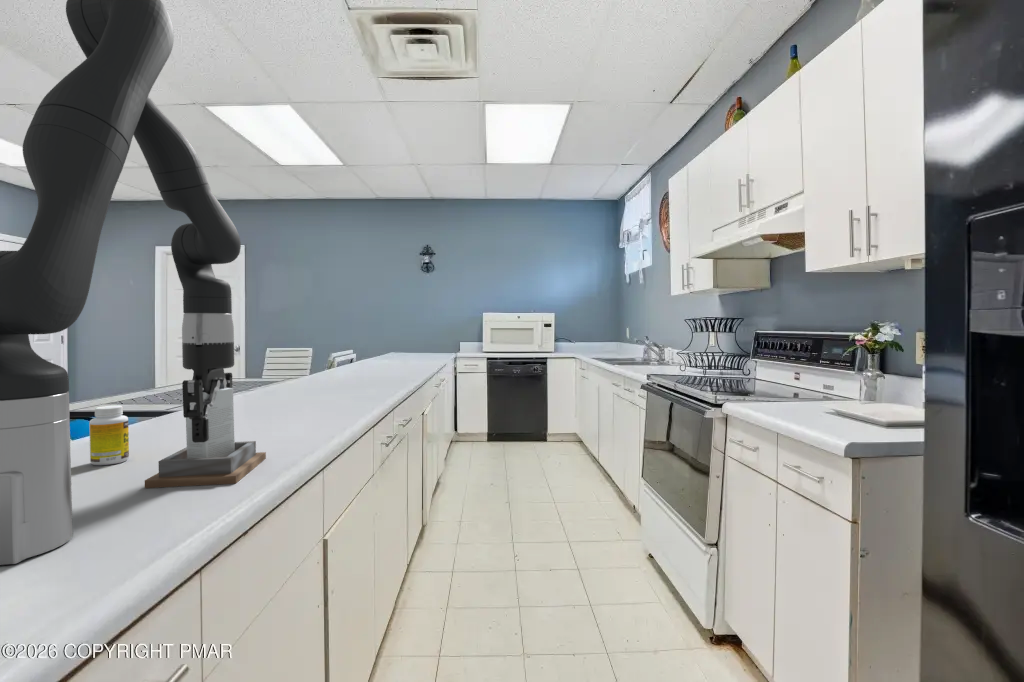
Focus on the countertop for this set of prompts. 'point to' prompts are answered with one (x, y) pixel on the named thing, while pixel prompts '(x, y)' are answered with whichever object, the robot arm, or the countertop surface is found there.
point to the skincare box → (215, 428)
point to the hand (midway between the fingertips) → (210, 436)
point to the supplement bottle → (109, 436)
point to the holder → (206, 468)
